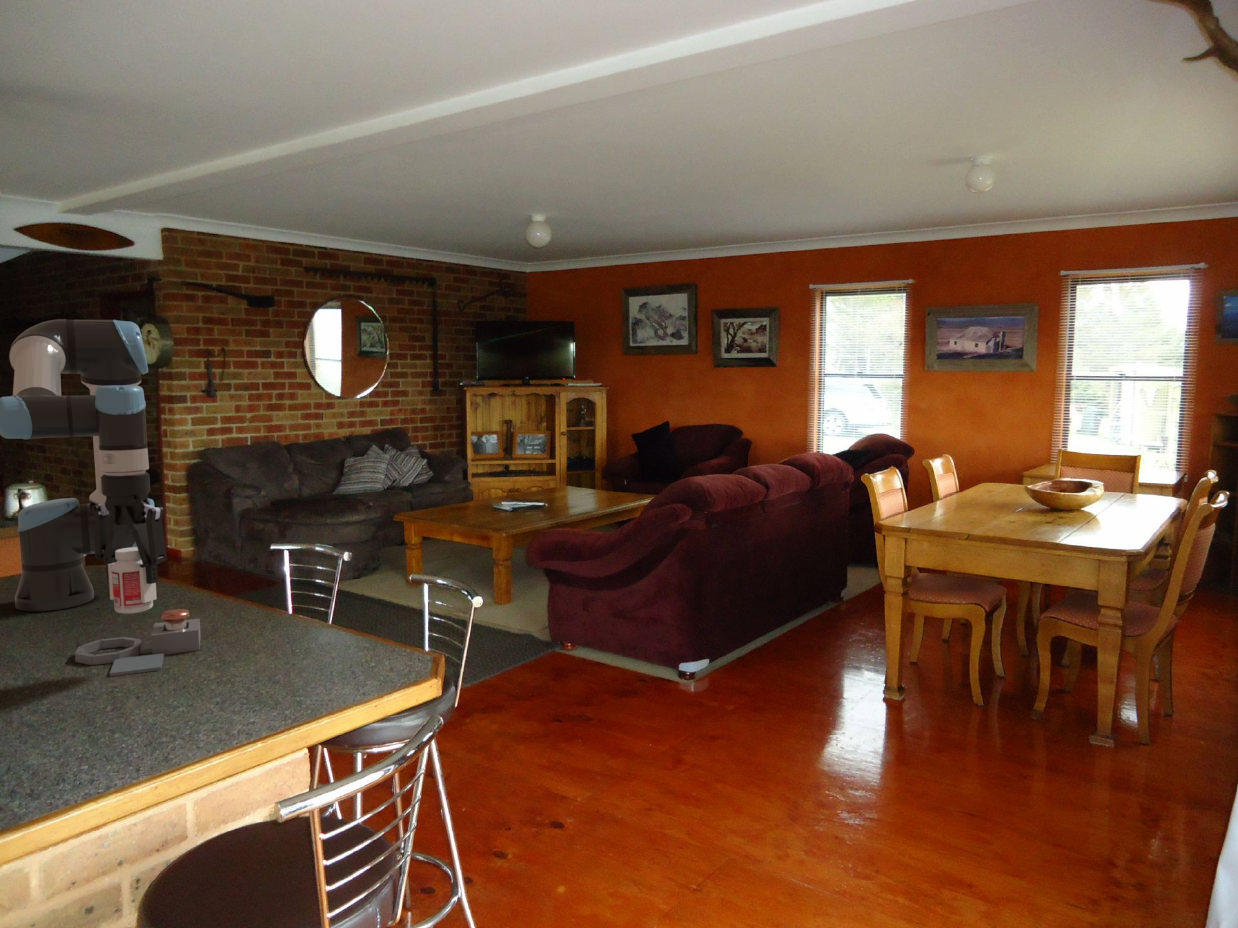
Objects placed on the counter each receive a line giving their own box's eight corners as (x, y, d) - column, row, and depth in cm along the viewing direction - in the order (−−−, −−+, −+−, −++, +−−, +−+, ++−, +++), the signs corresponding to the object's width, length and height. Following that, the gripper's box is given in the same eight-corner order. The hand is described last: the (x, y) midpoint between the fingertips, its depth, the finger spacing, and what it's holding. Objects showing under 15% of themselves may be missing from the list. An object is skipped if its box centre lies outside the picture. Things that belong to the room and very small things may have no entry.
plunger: (164, 640, 170) (162, 610, 169) (191, 637, 172) (189, 607, 171) (162, 647, 165) (160, 617, 165) (190, 644, 167) (188, 614, 167)
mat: (115, 661, 160) (115, 658, 160) (164, 655, 163) (163, 652, 163) (109, 676, 153) (109, 673, 153) (161, 669, 156) (160, 666, 156)
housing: (81, 649, 167) (80, 629, 166) (200, 636, 175) (199, 616, 174) (72, 667, 157) (71, 646, 157) (199, 652, 166) (198, 631, 165)
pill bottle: (160, 605, 159) (157, 546, 158) (138, 614, 153) (134, 553, 152) (129, 604, 160) (125, 545, 159) (106, 613, 154) (102, 552, 153)
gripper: (63, 473, 153) (73, 600, 155) (152, 477, 147) (160, 609, 150) (99, 468, 160) (108, 589, 163) (185, 472, 155) (192, 597, 157)
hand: (133, 598), depth 156 cm, fingers closed on pill bottle, 6 cm apart
